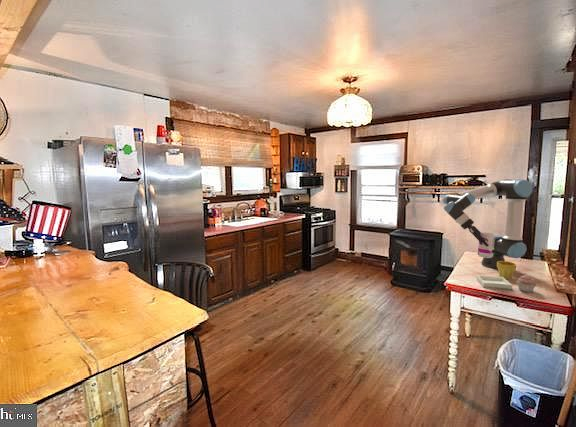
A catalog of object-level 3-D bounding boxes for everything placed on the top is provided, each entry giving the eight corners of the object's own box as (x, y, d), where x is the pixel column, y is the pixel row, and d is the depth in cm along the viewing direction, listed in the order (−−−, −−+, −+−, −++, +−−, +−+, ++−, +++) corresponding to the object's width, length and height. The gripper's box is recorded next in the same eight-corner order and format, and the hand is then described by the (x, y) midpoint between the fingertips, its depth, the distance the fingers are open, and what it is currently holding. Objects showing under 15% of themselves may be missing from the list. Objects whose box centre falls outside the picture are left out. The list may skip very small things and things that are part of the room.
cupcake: (526, 287, 178) (527, 271, 177) (540, 293, 169) (541, 276, 167) (511, 287, 178) (512, 271, 176) (524, 293, 168) (525, 277, 167)
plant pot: (511, 281, 188) (512, 266, 187) (493, 276, 197) (494, 262, 196) (518, 277, 194) (519, 263, 193) (500, 273, 203) (501, 260, 201)
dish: (476, 279, 192) (476, 275, 192) (502, 281, 188) (503, 277, 187) (483, 287, 179) (483, 282, 178) (511, 289, 174) (512, 285, 174)
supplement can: (485, 258, 183) (487, 235, 181) (474, 255, 191) (476, 232, 189) (496, 257, 185) (498, 234, 183) (484, 254, 193) (486, 232, 191)
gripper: (461, 223, 203) (487, 248, 196) (458, 227, 186) (486, 255, 179) (470, 216, 199) (497, 242, 192) (468, 219, 182) (497, 248, 175)
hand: (492, 248), depth 186 cm, fingers closed on supplement can, 8 cm apart
